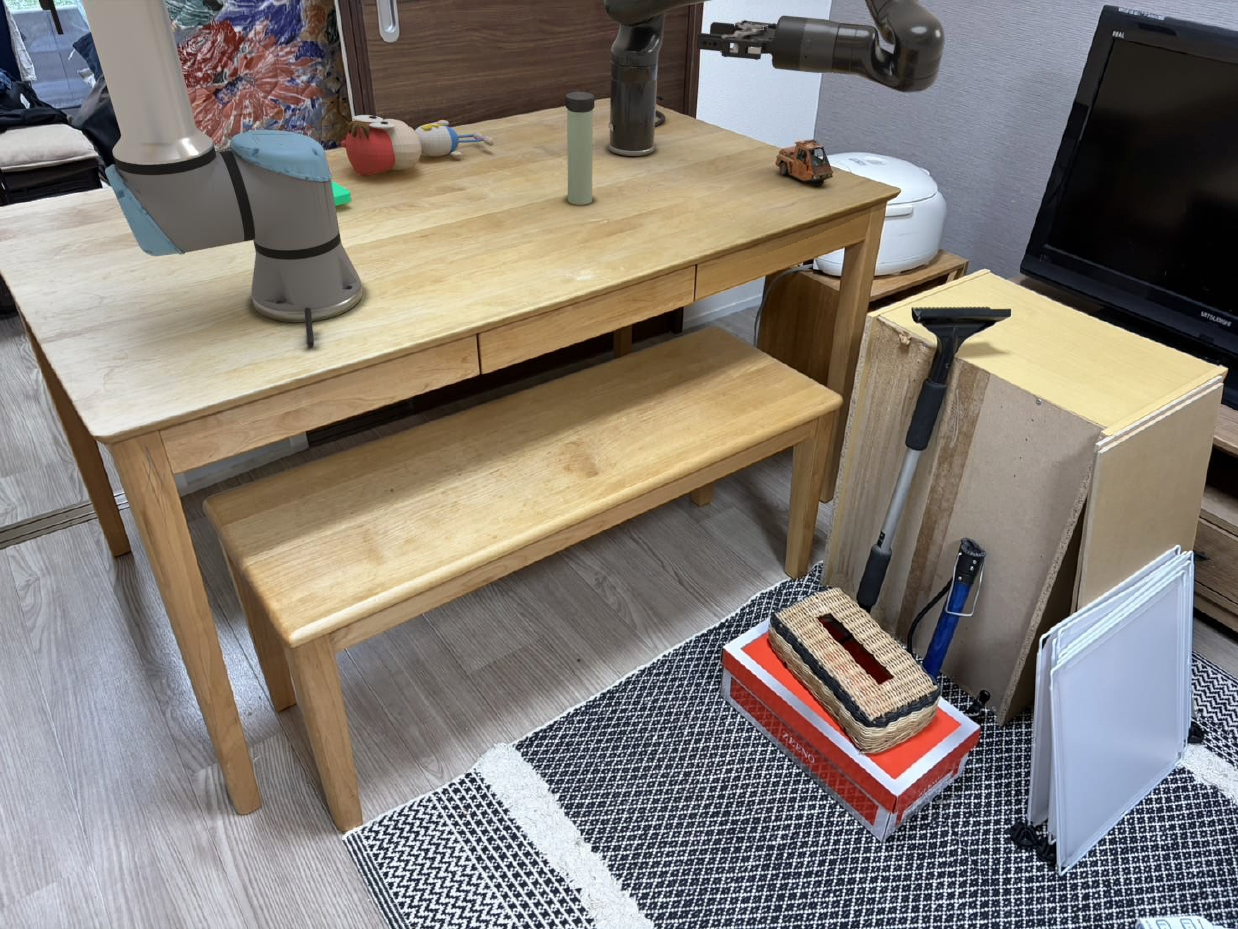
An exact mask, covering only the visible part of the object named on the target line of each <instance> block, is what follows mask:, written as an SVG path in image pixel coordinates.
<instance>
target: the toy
mask: <svg viewBox="0 0 1238 929" xmlns="http://www.w3.org/2000/svg"><path fill="white" fill-rule="evenodd" d="M352 119H353V120H352V121H350V122H349V123H348V125H347V134H346V138H345V139H344V140H342V141H341V142H340V145H341V147H342V148H344V149H345V152H346V156H347V158H348V161H349V163H350V164H351V167H352V168H353V170H354V172H355V173H356V174H357V175H360V176H371V175H376V174H377V175H378V174H381V173H384V172H387V171H390V170H392V171H404V170H409V169H411V168H413V167H414V166H415V165H416V164H417V163H418V162H419V160H420V158H421V155H425V156H428V157H429V156H430V157H443V156H446V155H449V154H450V156H451V157H453V158H459V157H462V155H463V153H462V152H461V151H458V150H456V149H457V148H458V147H459V143H462V144H464V143H465V144H467V143H468V144H469V143H478V142H483V144H485V145H487V146H489V147H492V146H494V144H495V141H494V139H493V138H492V137H490V136H484V135H483V134H482V133H481V132H479V131H475V132H473V133H471V134H459V135H458V133H457V132H456V130H454V129H453V128H451V127H450V126H449V125H450V123H449V121H448V120H445V119H440V120H438V121H436V122H431V123H426V124H423V125H420V126H418V127H417V128H416V129H414V128H412V127H411V126H410V123H407V122H406V121H402V120H399V119H397V118H385V119H384V118H382V117H380V116H378V115H377V116H376V115H370V114H360V115H355V116H353V117H352ZM465 138H473V139H465Z"/></svg>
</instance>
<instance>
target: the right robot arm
mask: <svg viewBox="0 0 1238 929" xmlns="http://www.w3.org/2000/svg"><path fill="white" fill-rule="evenodd" d="M709 1H710V2H711V1H712V0H603V3H604V9H605V12H606V14H607V15H608V17H609V18H610V19H611V20H612V21H613V22H615V23H616V24H618V25H619V30H618V33H617V36H616V38H615V39H614V41H613V43H612V46H611V50H610V51H611V52H610V97H609V98H610V99H609V101H610V102H609V122H608V129H609V141H608V150H609V151H610V152H612V153H613V154H616V155H619V156H624V157H625V156H626V157H641V156H642V157H643V156H647V155H650V154H652V153H653V152H654V151H655V133H656V128H657V127H658V126H660V125H662V123H664V121H666V115H665V114H664V113H663V112H661V111H660V110H657V99H658V100H659V101H664V97H663V95H661V94H658V93H657V92H658V91H657V89H658V70H659V69H658V68H659V67H658V66H659V65H658V64H659V54H660V50H661V47H662V45H663V40H664V30H665V28H664V27H665V18H666V12H668V11H671V10H673V9H676V8H679V7H684V6H689V5H696V4H700V3H706V2H709ZM864 3H865V6H866V8H867V12H868V14H869V16H870V18H871V20H872V22H873V25H874V26H873V25H870V24H869V25H868V24H862V23H860V24H859V23H851V22H849V23H848V22H839V21H835V20H832V19H831V20H830V19H827V18H826V19H825V18H817V17H804V16H793V15H781V16H780V17H779V18H778V20H777V22H773V23H770V22H761V21H752V20H746V19H744V20H741V21H737V22H735V23H729V22H719V21H713V22H711V23H710V26H709V33H708V32H707V33H706V32H699V33H698V34H697V36H696V49H698V50H702V51H703V50H704V51H712V52H719V53H720V54H721V57H723V58H735V59H747V60H755V61H759V60H761V58H762V55H771V65H772V67H773V68H774V69H775V70H783V71H794V72H802V73H812V74H827V73H828V74H832V73H833V74H839V75H847V76H848V75H850V76H859V77H861V78H864V79H865V80H868V81H870V82H873V83H876V84H879V85H880V86H883V87H886V88H888V89H890V90H893V91H896V92H899V93H903V94H917V93H920V92H923V91H926V90H928V89H930V88H931V87H932V86H933V85H934V84H935V82H936V81H937V78H938V76H939V72H940V65H941V62H942V57H943V53H944V48H945V43H946V36H945V35H946V34H945V29H944V27H943V26H944V25H943V24H942V22H941V20H940V19H939V18H938V17H937V16H935V15H934V14H933V13H932V12H930V10H929V9H927V8H925V7H924V6H922V4H921V2H920V0H864ZM880 38H881V40H882V41H884V42H885V44H888V45H890V46H893V50H892V52H891V51H889V50H887V49H885V48H883V47H882V45H881V43H880ZM731 44H733V46H732V47H731ZM656 116H658V117H659V118H660V119H659V120H657V121H656Z"/></svg>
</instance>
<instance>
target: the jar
mask: <svg viewBox="0 0 1238 929" xmlns="http://www.w3.org/2000/svg"><path fill="white" fill-rule="evenodd" d="M566 114H567V115H566V121H567V122H566V125H567V126H566V127H567V130H566V131H567V133H566V136H567V138H566V139H567V140H566V142H567V148H566V149H567V201H568V203H570V204H572V205H577V206H584V205H589V204H591V203H592V202H593V149H594V148H593V147H594V146H593V145H594V144H593V139H594V138H593V134H594V133H593V132H594V128H593V127H594V109H592V110H590V111H584V112H578V111H571V110H568V109H567V108H566Z"/></svg>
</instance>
